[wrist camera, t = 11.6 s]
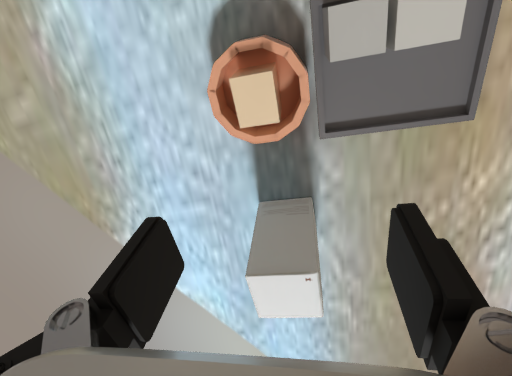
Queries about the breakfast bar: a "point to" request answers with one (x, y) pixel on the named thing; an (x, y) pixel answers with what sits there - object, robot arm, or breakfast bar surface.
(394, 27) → the grey cube
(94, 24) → the breakfast bar surface
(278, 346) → the breakfast bar surface
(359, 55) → the grey cube
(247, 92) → the beige rectangular block
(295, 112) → the bowl
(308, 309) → the supplement box
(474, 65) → the tray
